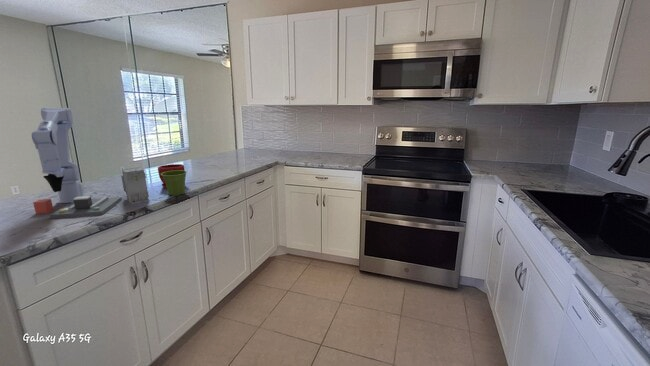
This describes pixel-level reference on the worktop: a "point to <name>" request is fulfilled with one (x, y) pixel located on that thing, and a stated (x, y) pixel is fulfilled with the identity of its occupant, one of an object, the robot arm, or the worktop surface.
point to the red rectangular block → (43, 206)
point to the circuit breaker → (135, 185)
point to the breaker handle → (82, 202)
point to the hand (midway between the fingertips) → (57, 191)
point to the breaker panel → (96, 209)
